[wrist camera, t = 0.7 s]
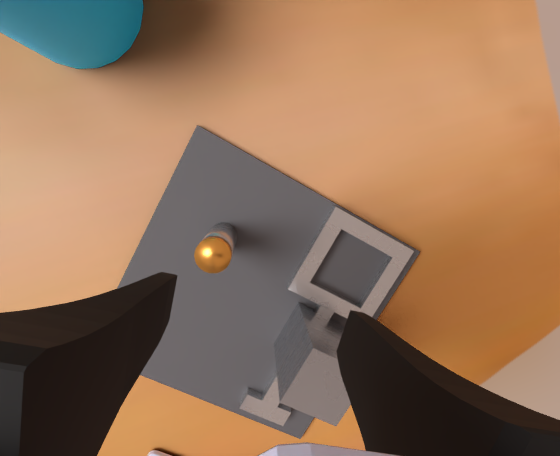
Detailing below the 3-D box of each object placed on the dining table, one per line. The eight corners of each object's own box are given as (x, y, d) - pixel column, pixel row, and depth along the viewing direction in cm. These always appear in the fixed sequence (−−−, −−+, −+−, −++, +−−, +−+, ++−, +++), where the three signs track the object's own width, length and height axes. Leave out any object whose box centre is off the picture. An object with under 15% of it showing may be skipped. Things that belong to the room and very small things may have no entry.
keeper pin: (229, 253, 21) (220, 279, 16) (204, 241, 21) (187, 263, 16) (242, 230, 21) (237, 248, 16) (217, 217, 21) (204, 232, 15)
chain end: (297, 424, 24) (310, 503, 19) (223, 393, 23) (212, 468, 17) (408, 248, 22) (463, 275, 16) (332, 205, 21) (362, 218, 15)
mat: (299, 435, 25) (300, 438, 25) (87, 350, 22) (85, 352, 22) (418, 250, 23) (420, 251, 22) (198, 125, 20) (197, 125, 19)
